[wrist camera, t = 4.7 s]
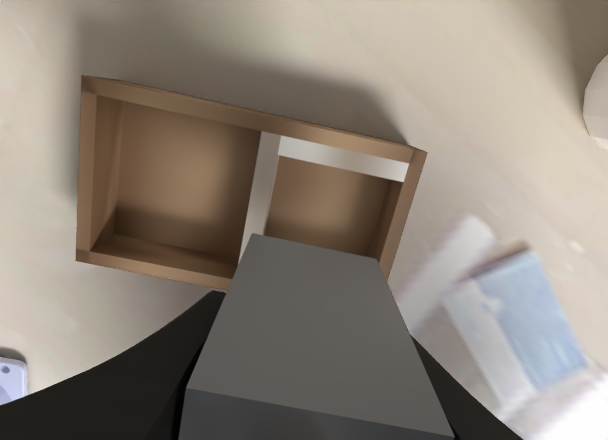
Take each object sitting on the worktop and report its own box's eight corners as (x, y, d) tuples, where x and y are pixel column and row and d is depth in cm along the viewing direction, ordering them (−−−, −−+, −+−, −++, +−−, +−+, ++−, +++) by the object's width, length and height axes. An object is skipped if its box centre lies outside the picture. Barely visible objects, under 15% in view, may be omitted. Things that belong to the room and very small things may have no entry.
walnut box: (107, 239, 19) (75, 260, 17) (116, 79, 17) (81, 75, 14) (366, 290, 20) (375, 318, 18) (409, 145, 18) (427, 152, 15)
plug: (231, 340, 13) (133, 650, 5) (251, 232, 11) (159, 451, 4) (345, 362, 13) (391, 688, 6) (376, 258, 12) (486, 507, 5)
